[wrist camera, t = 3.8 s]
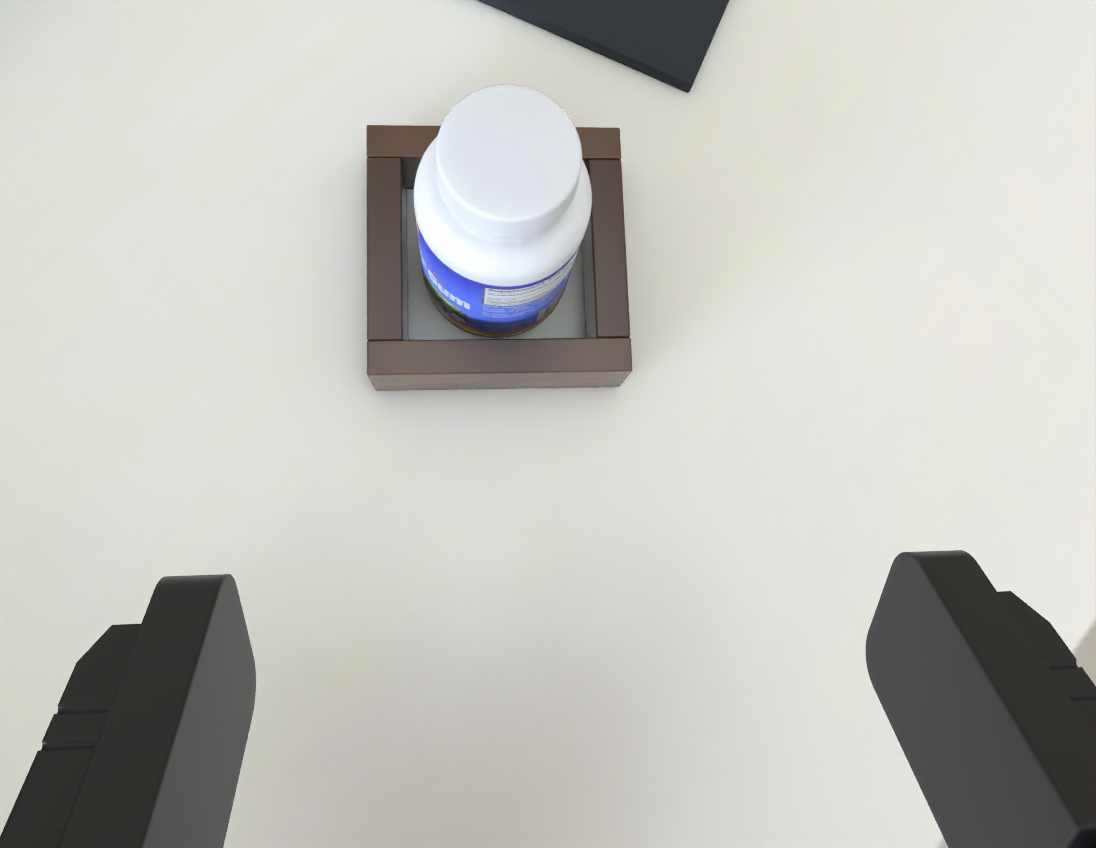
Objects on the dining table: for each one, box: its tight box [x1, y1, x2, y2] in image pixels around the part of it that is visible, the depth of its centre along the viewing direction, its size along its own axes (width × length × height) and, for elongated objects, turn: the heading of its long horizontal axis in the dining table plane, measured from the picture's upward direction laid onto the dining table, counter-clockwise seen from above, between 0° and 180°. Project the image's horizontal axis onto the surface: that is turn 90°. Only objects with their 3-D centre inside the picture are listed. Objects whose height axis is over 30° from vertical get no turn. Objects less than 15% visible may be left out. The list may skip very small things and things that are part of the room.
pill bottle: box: [414, 85, 592, 337], centre depth 28 cm, size 6×5×10 cm
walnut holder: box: [367, 125, 632, 390], centre depth 32 cm, size 9×9×3 cm
